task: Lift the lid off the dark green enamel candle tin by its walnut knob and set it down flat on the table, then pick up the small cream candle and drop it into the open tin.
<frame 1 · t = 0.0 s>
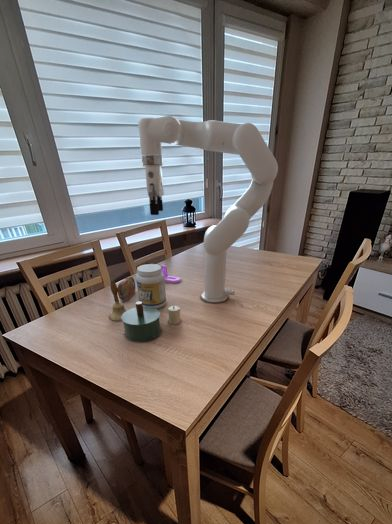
hand: (157, 212, 111), 37 cm above the table, tool pointing down, fingers open, 9 cm apart
tin lid: (140, 316, 101), point 7 cm above the table, touching candle tin
candle: (174, 321, 112), on the table
candle tin: (143, 332, 106), on the table
hand bell: (120, 316, 117), on the table
bracket: (169, 280, 150), on the table
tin: (128, 297, 134), on the table
supplement tub: (153, 304, 126), on the table
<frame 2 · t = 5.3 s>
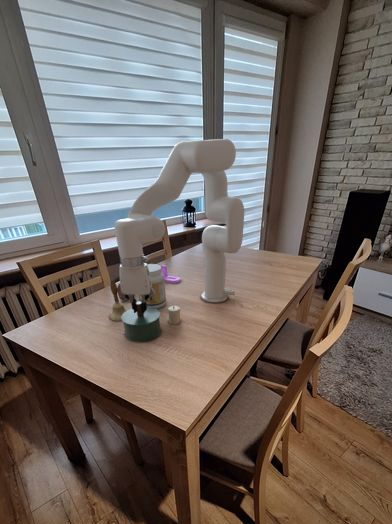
hand: (140, 310, 100), 9 cm above the table, tool pointing down, fingers closed on tin lid, 2 cm apart
tin lid: (140, 316, 101), point 7 cm above the table, touching candle tin, gripper
everything else where it was.
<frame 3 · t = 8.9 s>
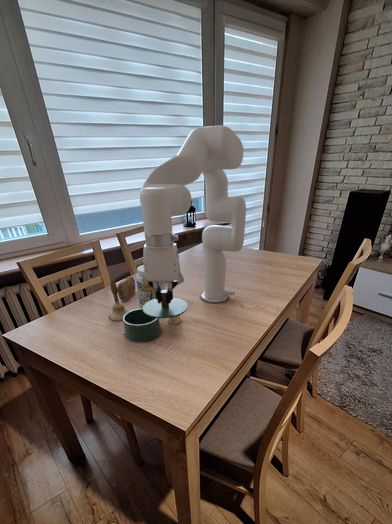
hand: (164, 301, 85), 18 cm above the table, tool pointing down, fingers closed on tin lid, 2 cm apart
tin lid: (165, 307, 87), point 16 cm above the table, touching gripper
everything else where it was.
when the fingers open (3 cm above the table, at t = 12.4 s): tin lid stays where it is, point 1 cm above the table.
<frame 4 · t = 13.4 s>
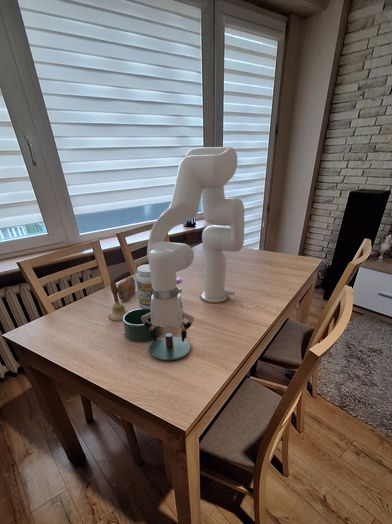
hand: (169, 339, 93), 4 cm above the table, tool pointing down, fingers open, 9 cm apart
tin lid: (170, 348, 95), point 1 cm above the table
everything else where it was.
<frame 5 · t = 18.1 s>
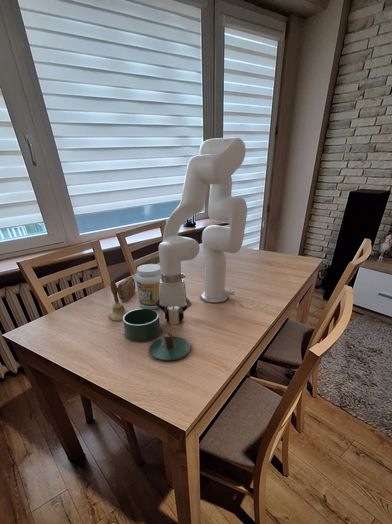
hand: (174, 320, 112), 1 cm above the table, tool pointing down, fingers closed on candle, 4 cm apart
candle: (174, 321, 112), on the table, touching gripper
everything else where it was.
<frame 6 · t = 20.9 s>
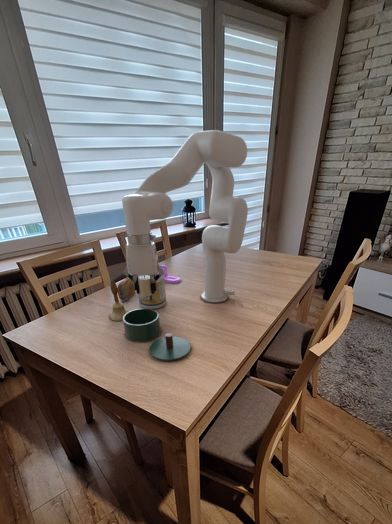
hand: (146, 292, 98), 16 cm above the table, tool pointing down, fingers closed on candle, 4 cm apart
candle: (146, 293, 98), point 15 cm above the table, touching gripper
everything else where it was.
when the fingers open (6 cm above the table, at t = 24.1 s): candle drops 4 cm, resting on candle tin.
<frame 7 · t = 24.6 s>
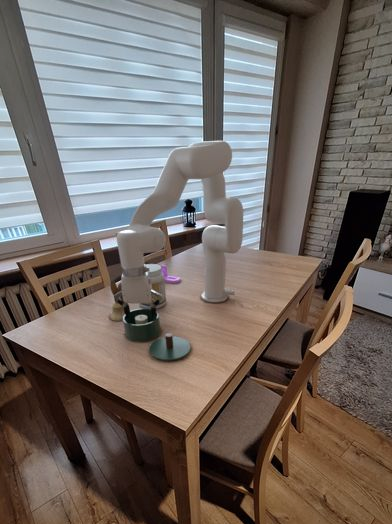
hand: (141, 316, 102), 7 cm above the table, tool pointing down, fingers open, 9 cm apart
candle: (143, 331, 105), resting on candle tin
everything else where it was.
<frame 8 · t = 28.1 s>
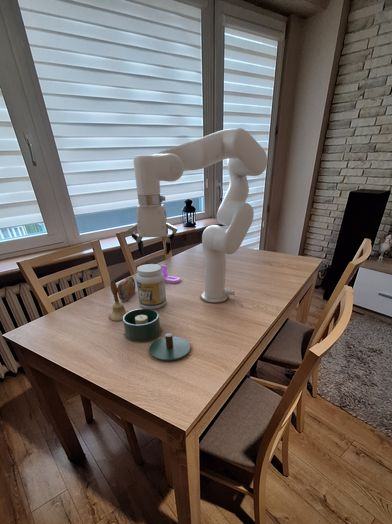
hand: (155, 253, 101), 26 cm above the table, tool pointing down, fingers open, 9 cm apart
nothing on the table moved.
at the end: tin lid inside the target area on the table beside the candle tin (0.1 cm from its centre), point 0.6 cm above the table; tin lid tilted 0°; candle inside the target area in the candle tin (0.0 cm from its centre), point 0.5 cm above the candle tin's base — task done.
